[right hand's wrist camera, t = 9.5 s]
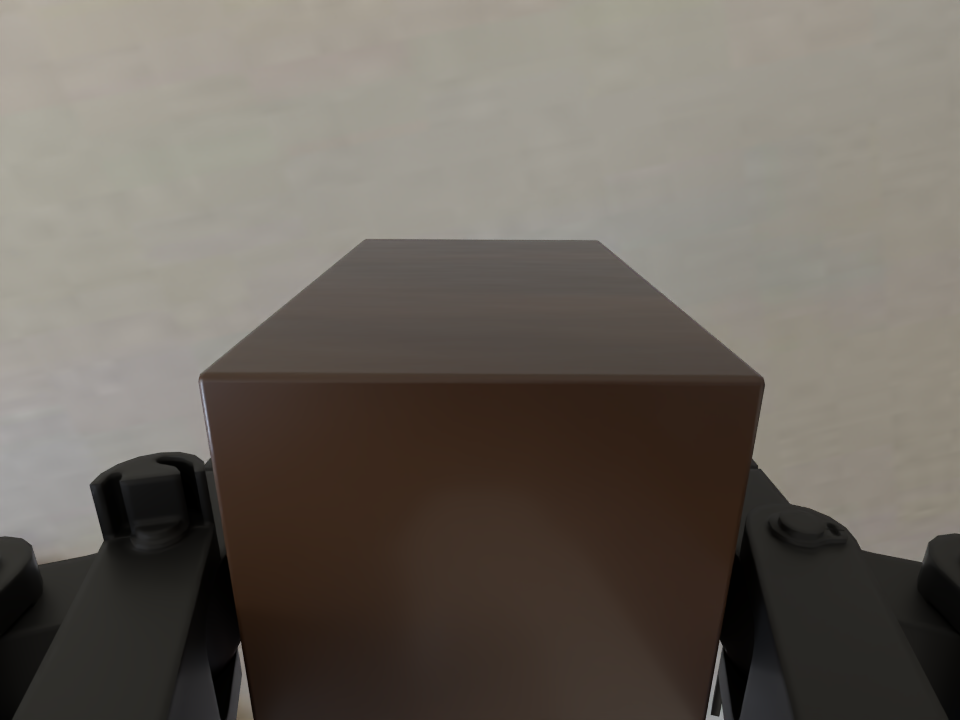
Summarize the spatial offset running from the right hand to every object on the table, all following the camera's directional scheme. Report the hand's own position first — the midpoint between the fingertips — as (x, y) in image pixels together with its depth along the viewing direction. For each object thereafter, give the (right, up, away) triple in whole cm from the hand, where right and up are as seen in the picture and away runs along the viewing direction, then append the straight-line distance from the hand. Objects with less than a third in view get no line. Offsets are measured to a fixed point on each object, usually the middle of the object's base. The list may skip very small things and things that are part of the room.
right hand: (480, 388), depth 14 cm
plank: (0, -12, +4) cm, 12 cm away
